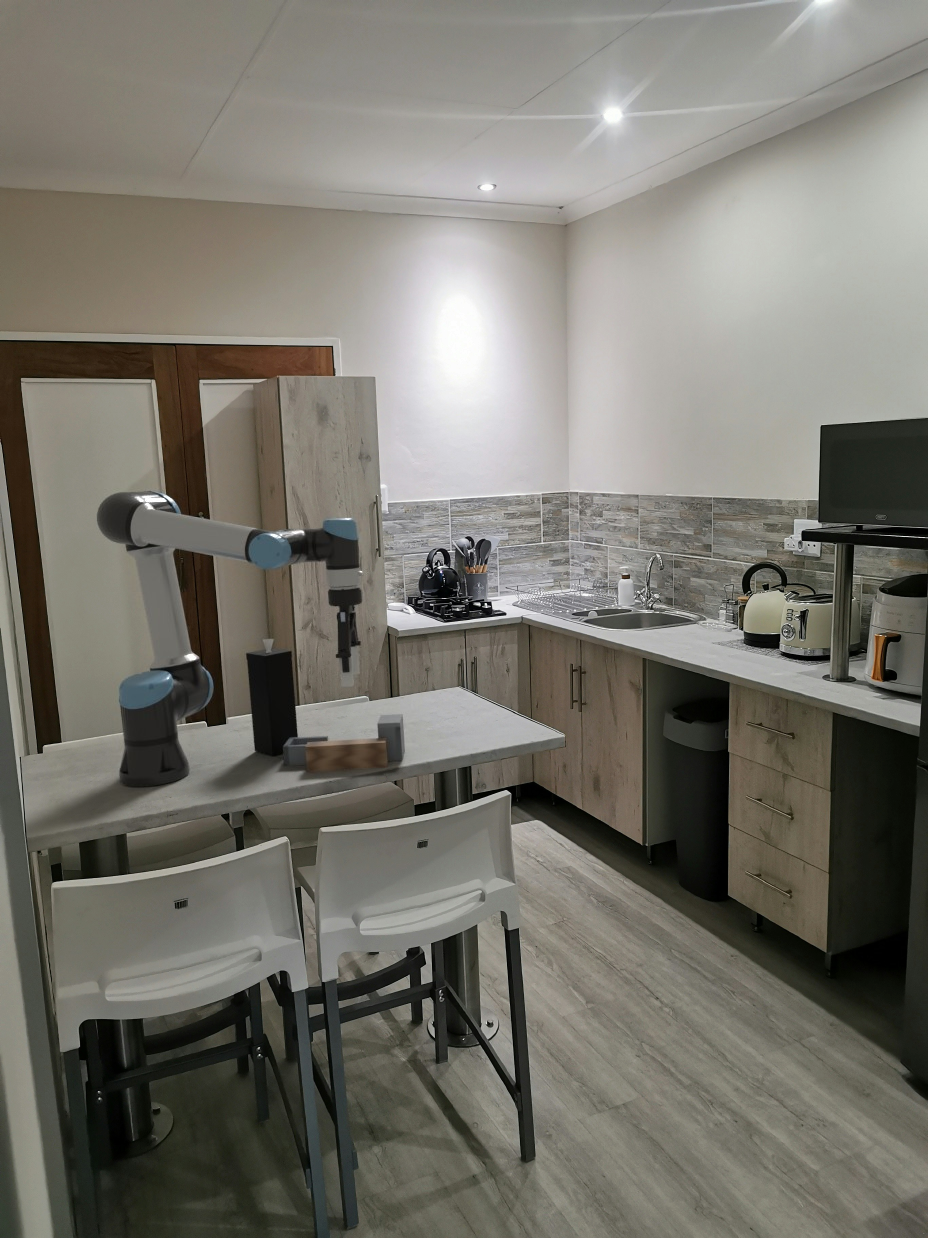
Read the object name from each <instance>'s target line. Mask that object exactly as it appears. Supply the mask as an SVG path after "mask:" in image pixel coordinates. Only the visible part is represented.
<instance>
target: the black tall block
mask: <svg viewBox="0 0 928 1238" xmlns="http://www.w3.org/2000/svg"><path fill="white" fill-rule="evenodd" d="M274 641H275V638H263V639H262V642H263V646H264V648H265V649H261V650H256V651H250V652H246V653H245V658H246V664H247V672H248V673H247V676H248V686H249V687H248V688H249V699H250V710H251V720H252V722H251V723H252V736H253V744H254V746H253V748H254V752H256V753H258V754H262V755H263V754H264V755H267V756H270V757H274V756H279V755H283V746H284V745H285V743H286V742H287V741H288V739H289V738H293V737H299V735H298V733H299V732H298V723H297V709H296V696H295V695H296V694H295V684H294V683H295V680H294V668H293V653H292V651H293V650H289V649H284V648H283V649H282V648H274V647H273V643H274Z"/></svg>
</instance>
